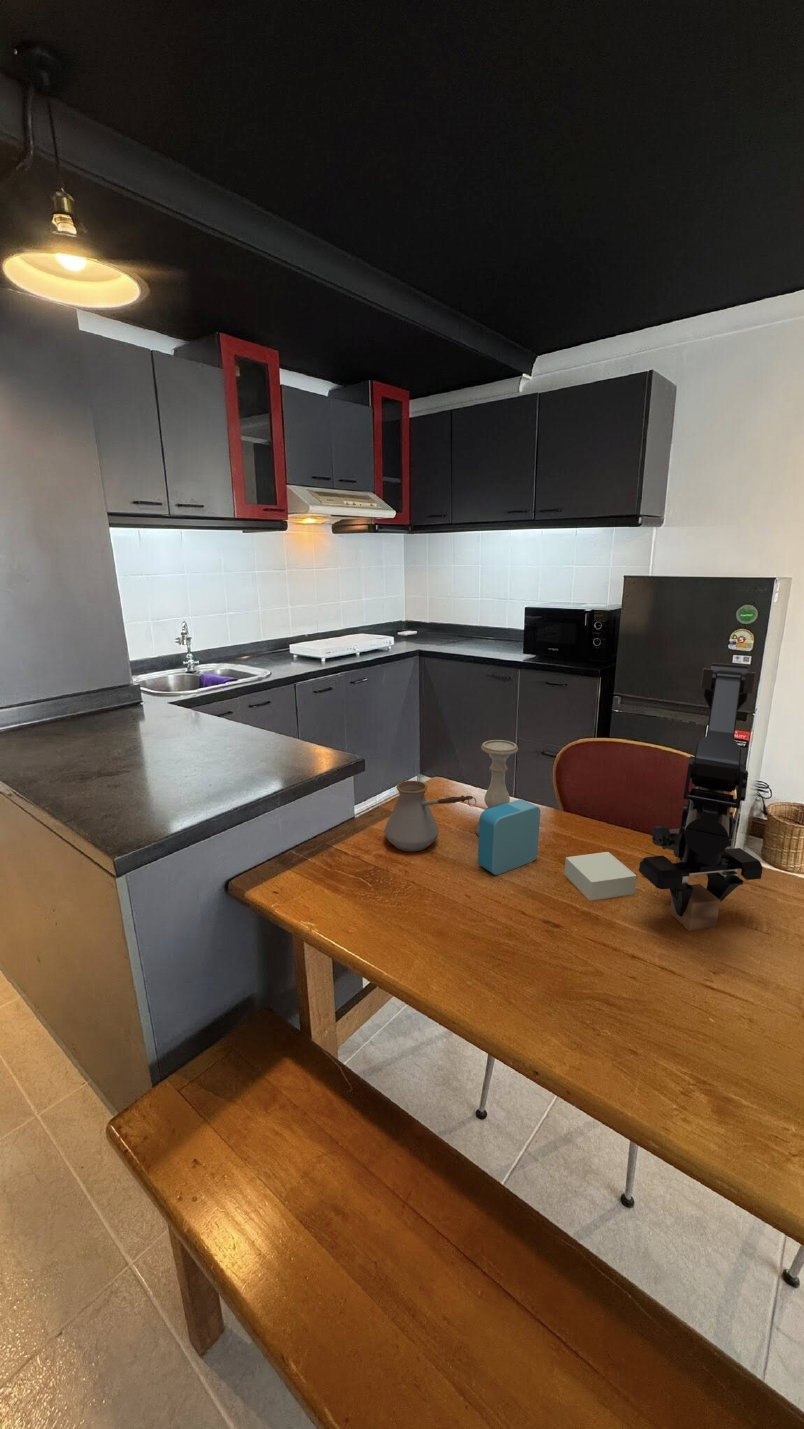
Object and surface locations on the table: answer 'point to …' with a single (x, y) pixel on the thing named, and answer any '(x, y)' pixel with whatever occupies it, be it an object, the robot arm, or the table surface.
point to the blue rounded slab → (508, 836)
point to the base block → (600, 876)
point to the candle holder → (497, 772)
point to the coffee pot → (414, 817)
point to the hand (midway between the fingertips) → (693, 913)
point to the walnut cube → (699, 909)
